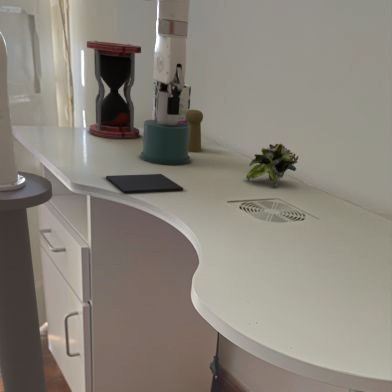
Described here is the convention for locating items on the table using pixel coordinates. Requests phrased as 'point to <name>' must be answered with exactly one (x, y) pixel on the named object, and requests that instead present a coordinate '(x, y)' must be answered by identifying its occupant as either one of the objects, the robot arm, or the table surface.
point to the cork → (194, 129)
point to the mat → (143, 183)
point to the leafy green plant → (272, 162)
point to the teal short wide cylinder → (166, 143)
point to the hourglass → (114, 89)
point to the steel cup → (165, 110)
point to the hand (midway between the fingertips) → (167, 111)
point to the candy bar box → (183, 105)
